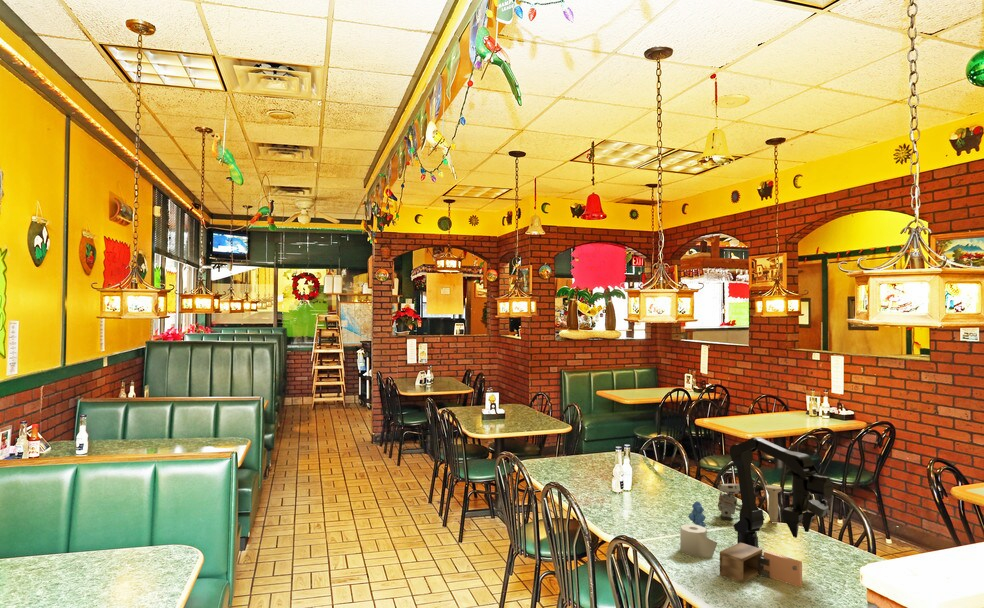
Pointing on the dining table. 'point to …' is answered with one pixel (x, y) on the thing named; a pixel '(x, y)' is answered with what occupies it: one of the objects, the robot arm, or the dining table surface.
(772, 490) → the handle
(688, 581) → the dining table surface
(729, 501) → the figurine
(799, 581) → the cabinet door
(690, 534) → the toilet tissue
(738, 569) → the cabinet
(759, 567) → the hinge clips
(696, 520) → the grapes
